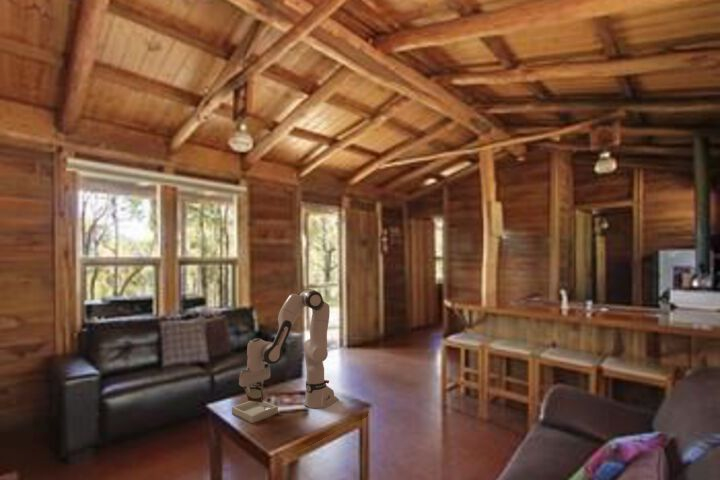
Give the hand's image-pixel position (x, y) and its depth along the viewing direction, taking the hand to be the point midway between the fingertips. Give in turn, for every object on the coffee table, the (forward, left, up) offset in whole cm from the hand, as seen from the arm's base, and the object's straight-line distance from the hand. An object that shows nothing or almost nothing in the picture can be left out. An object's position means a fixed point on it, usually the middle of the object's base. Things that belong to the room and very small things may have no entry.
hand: (255, 389), depth 244 cm
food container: (-3, -1, -6) cm, 7 cm away
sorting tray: (0, 0, -14) cm, 14 cm away
